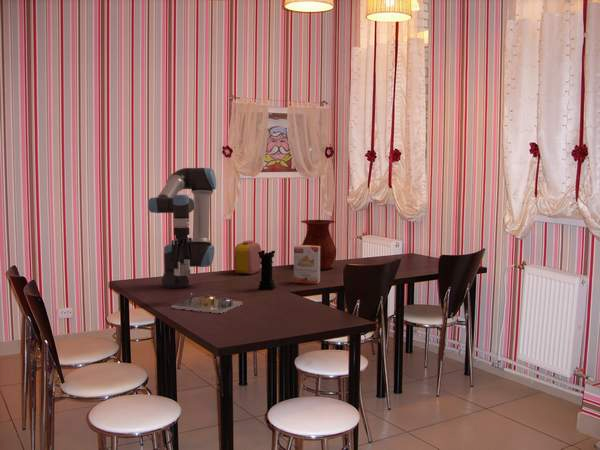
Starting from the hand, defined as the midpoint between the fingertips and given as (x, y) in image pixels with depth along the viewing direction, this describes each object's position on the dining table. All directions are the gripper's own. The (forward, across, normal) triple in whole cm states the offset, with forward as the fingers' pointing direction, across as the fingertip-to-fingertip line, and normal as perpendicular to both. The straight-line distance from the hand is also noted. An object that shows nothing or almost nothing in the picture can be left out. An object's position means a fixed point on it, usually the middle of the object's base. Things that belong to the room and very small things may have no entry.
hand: (182, 274), depth 315 cm
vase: (+13, +118, -22) cm, 121 cm away
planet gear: (0, 0, 0) cm, 0 cm away
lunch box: (+13, +84, +9) cm, 85 cm away
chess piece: (+13, +45, -23) cm, 52 cm away
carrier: (+13, -5, -17) cm, 23 cm away
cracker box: (+13, +69, -36) cm, 79 cm away
